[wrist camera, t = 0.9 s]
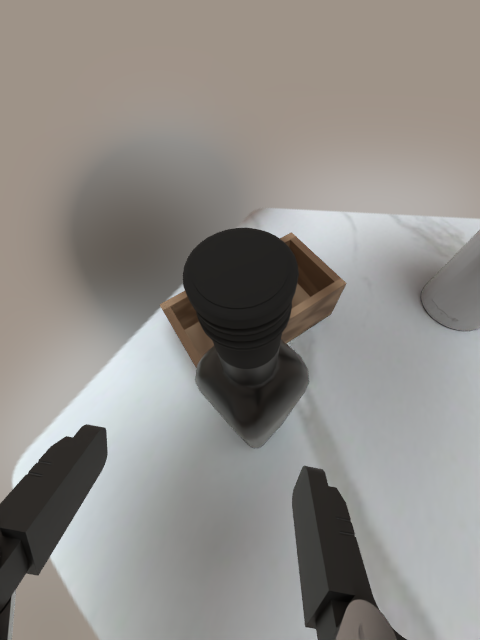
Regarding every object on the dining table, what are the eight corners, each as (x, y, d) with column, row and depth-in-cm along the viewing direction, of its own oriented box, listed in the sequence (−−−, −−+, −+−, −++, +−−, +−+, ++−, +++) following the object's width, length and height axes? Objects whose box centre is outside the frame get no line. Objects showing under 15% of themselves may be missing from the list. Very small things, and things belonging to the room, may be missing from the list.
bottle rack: (286, 268, 44) (291, 232, 37) (330, 314, 39) (346, 283, 32) (177, 331, 40) (159, 304, 33) (212, 391, 35) (200, 375, 28)
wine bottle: (256, 453, 31) (234, 439, 5) (224, 417, 33) (89, 270, 7) (287, 418, 33) (403, 262, 6) (255, 386, 35) (242, 170, 8)
